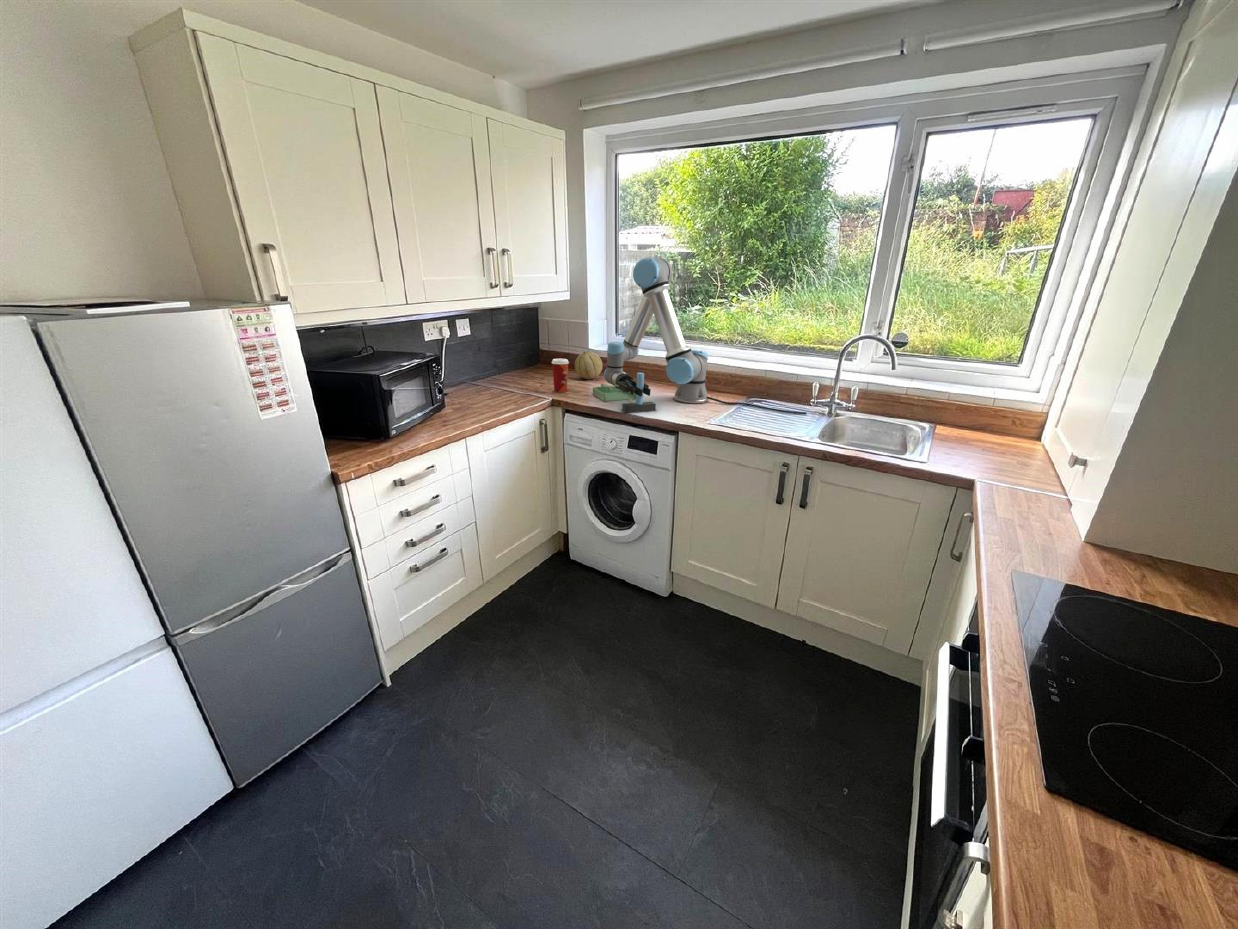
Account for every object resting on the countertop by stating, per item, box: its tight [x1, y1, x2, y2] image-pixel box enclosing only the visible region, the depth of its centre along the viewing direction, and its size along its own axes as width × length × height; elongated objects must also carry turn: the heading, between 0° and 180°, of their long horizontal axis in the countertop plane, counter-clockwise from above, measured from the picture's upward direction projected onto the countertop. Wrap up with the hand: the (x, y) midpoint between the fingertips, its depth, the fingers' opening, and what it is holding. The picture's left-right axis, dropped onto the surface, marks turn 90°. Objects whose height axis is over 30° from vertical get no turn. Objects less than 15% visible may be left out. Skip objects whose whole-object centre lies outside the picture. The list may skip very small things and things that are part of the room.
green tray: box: [592, 382, 636, 402], centre depth 238 cm, size 25×17×3 cm
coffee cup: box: [551, 358, 570, 393], centre depth 239 cm, size 8×8×15 cm
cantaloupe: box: [574, 351, 603, 380], centre depth 267 cm, size 15×15×15 cm
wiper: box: [621, 372, 657, 414], centre depth 209 cm, size 4×14×16 cm, turn 113°
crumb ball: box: [626, 398, 635, 404], centre depth 219 cm, size 3×3×3 cm
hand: (645, 392), depth 204 cm, fingers closed on wiper, 3 cm apart
